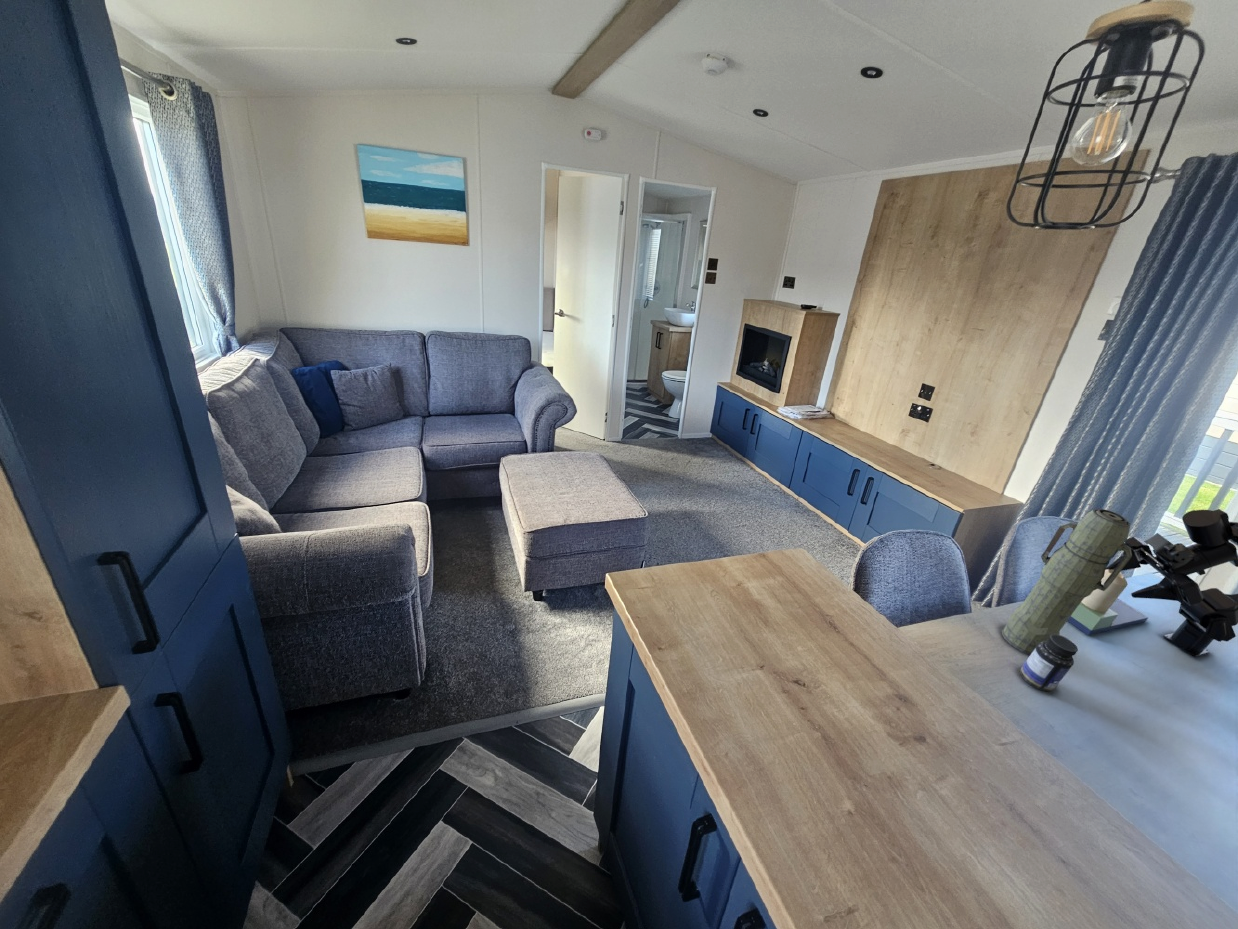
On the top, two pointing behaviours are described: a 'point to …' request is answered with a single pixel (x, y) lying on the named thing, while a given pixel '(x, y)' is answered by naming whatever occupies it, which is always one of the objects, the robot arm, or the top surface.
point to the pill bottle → (1049, 662)
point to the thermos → (1069, 577)
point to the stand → (1105, 617)
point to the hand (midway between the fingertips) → (1118, 583)
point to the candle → (1106, 593)
